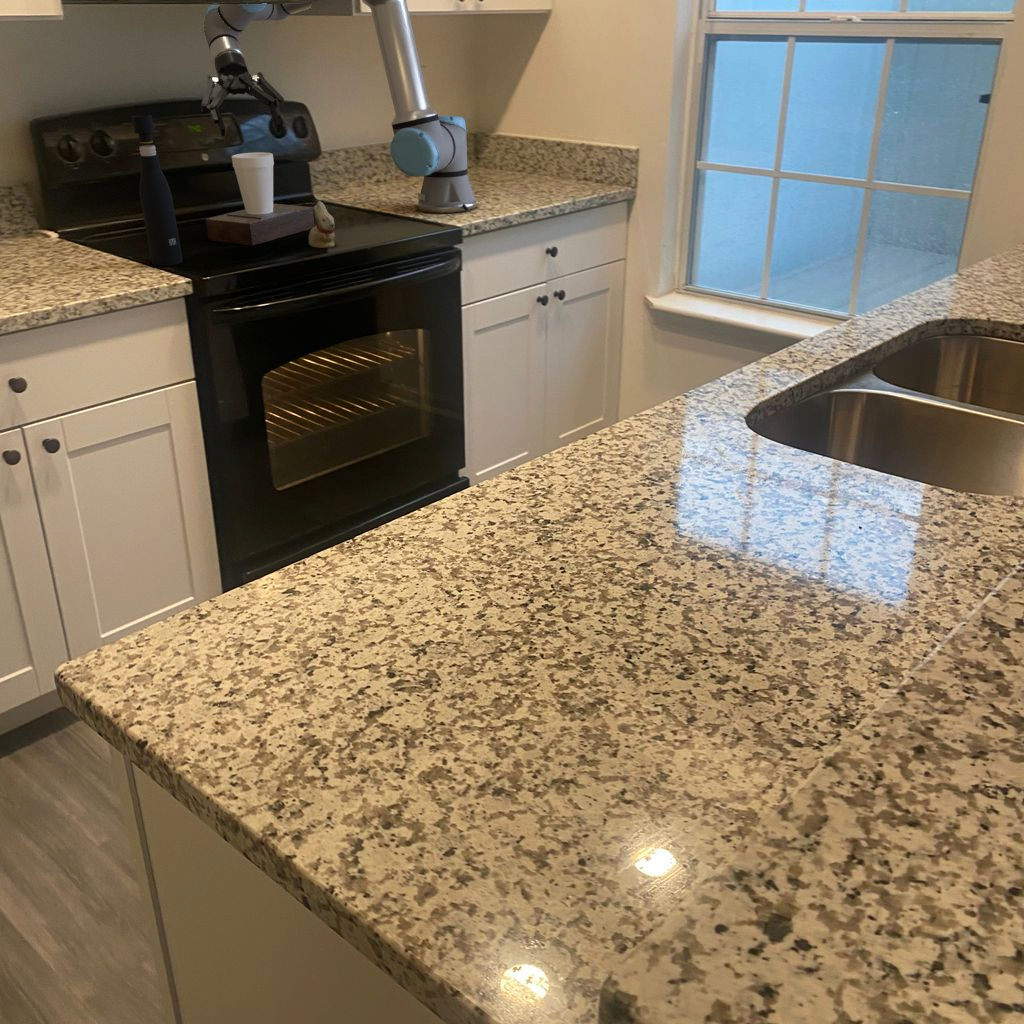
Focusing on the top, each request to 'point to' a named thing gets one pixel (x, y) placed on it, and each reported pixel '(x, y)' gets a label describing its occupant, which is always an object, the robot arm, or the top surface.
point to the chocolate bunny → (322, 228)
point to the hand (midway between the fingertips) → (251, 130)
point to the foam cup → (255, 181)
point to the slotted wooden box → (260, 225)
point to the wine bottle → (156, 200)
